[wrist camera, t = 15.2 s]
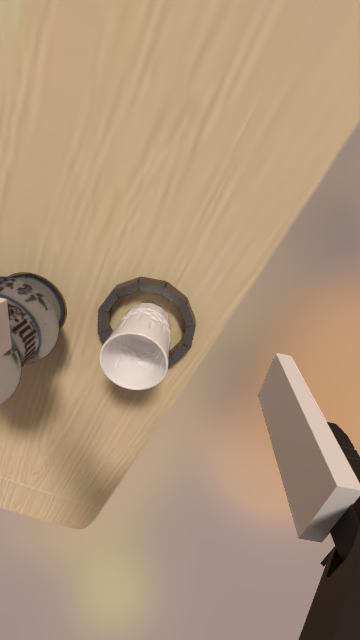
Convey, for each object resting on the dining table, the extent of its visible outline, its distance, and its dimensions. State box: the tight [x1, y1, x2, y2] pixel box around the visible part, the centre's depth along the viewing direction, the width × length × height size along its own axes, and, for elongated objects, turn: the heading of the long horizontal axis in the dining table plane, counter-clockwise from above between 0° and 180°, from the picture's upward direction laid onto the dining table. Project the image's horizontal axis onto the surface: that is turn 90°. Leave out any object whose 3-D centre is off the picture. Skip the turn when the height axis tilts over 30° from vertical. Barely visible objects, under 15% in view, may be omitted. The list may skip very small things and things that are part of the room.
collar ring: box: [98, 277, 196, 365], centre depth 39 cm, size 13×13×2 cm
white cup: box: [99, 303, 171, 390], centre depth 36 cm, size 8×8×10 cm
